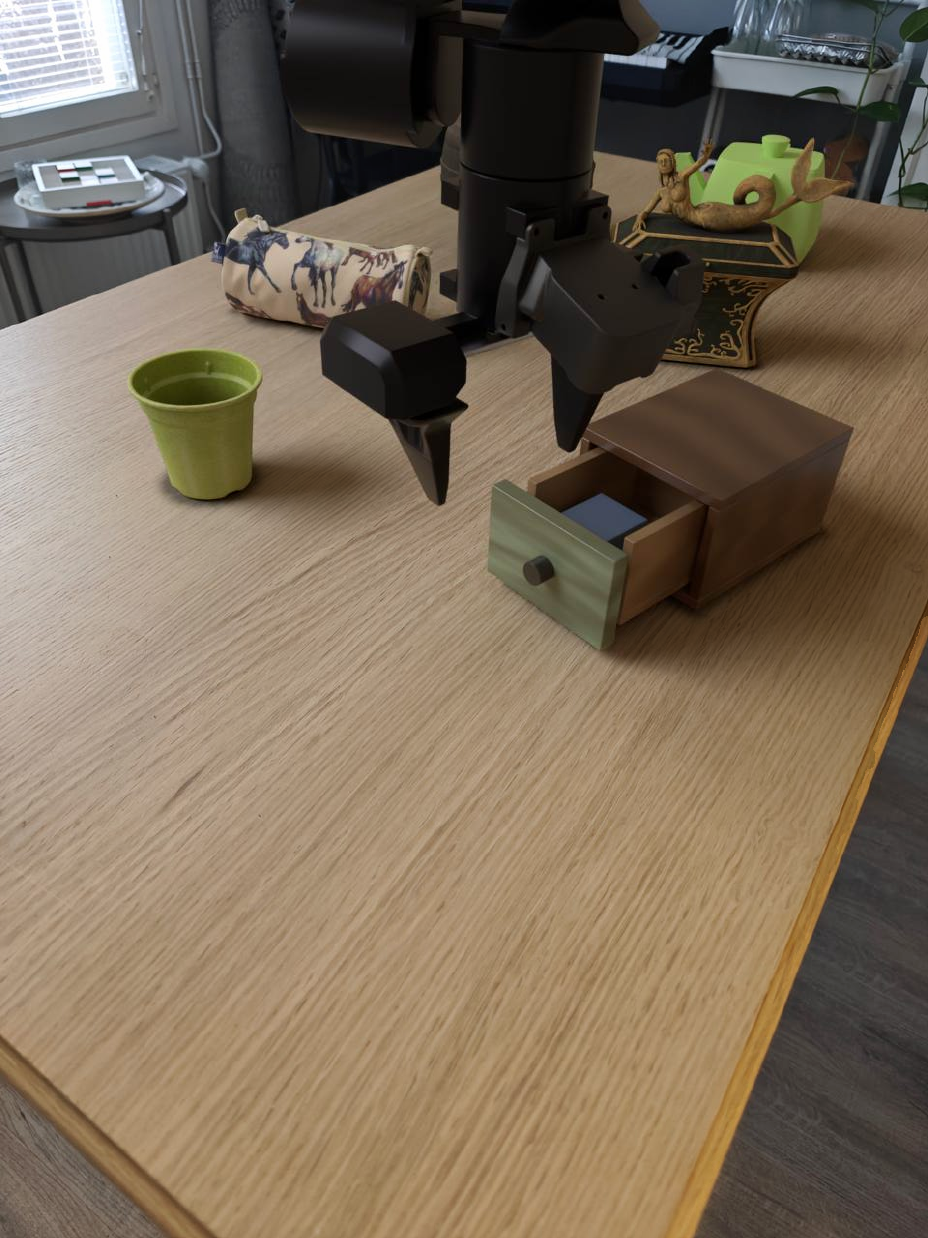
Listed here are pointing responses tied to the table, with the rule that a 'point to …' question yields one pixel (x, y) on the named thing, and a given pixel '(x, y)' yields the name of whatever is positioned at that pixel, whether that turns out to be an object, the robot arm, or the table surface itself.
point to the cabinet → (732, 469)
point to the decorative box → (725, 252)
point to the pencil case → (315, 274)
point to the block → (606, 519)
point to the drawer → (593, 543)
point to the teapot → (771, 163)
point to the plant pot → (201, 416)
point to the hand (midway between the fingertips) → (504, 474)
